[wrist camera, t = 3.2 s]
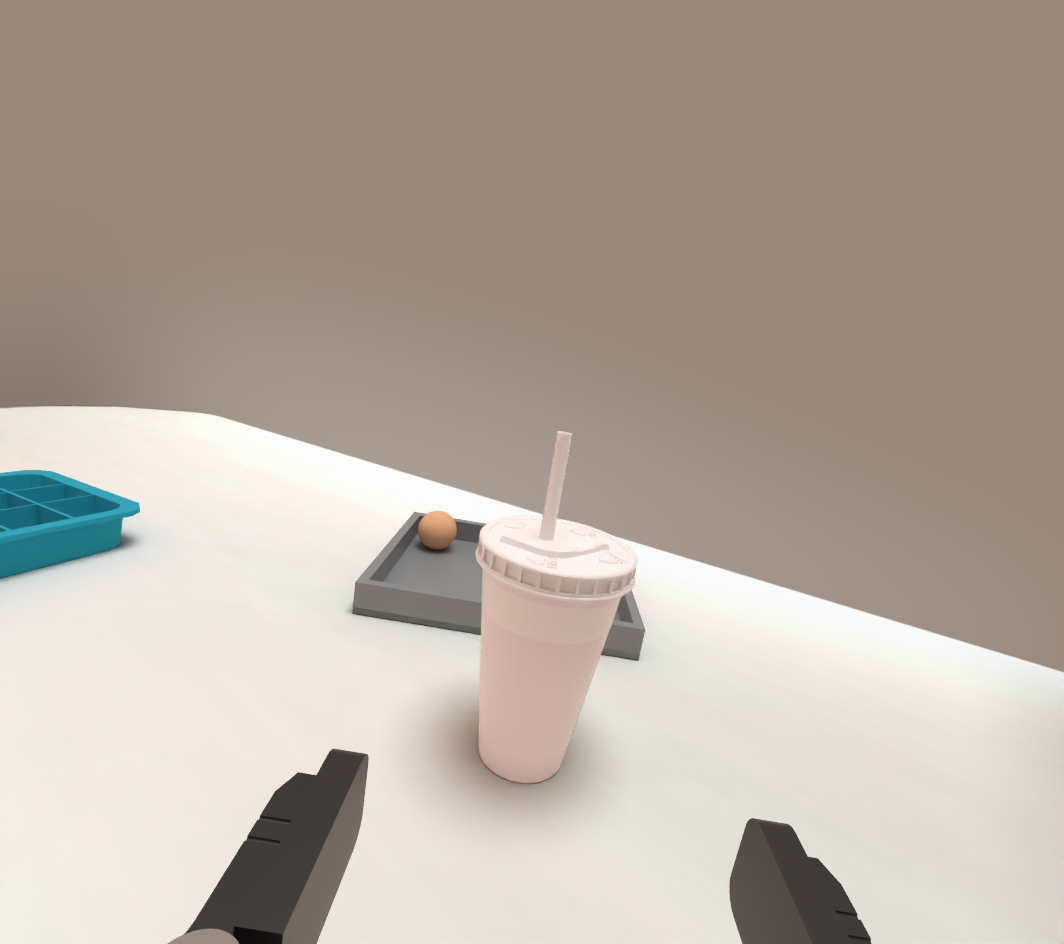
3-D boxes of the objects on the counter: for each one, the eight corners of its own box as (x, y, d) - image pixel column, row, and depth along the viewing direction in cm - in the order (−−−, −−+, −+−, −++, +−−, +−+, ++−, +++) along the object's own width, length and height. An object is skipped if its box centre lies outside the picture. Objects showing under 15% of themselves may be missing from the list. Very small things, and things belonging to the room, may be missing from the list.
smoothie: (438, 704, 26) (479, 411, 22) (564, 698, 28) (618, 428, 24) (459, 820, 20) (519, 443, 17) (618, 802, 22) (699, 462, 18)
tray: (611, 567, 46) (616, 545, 46) (638, 660, 32) (645, 629, 32) (411, 534, 46) (414, 512, 46) (352, 613, 32) (355, 582, 32)
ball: (457, 544, 44) (461, 509, 44) (450, 557, 41) (455, 521, 41) (420, 538, 44) (425, 503, 44) (411, 551, 41) (416, 514, 41)
